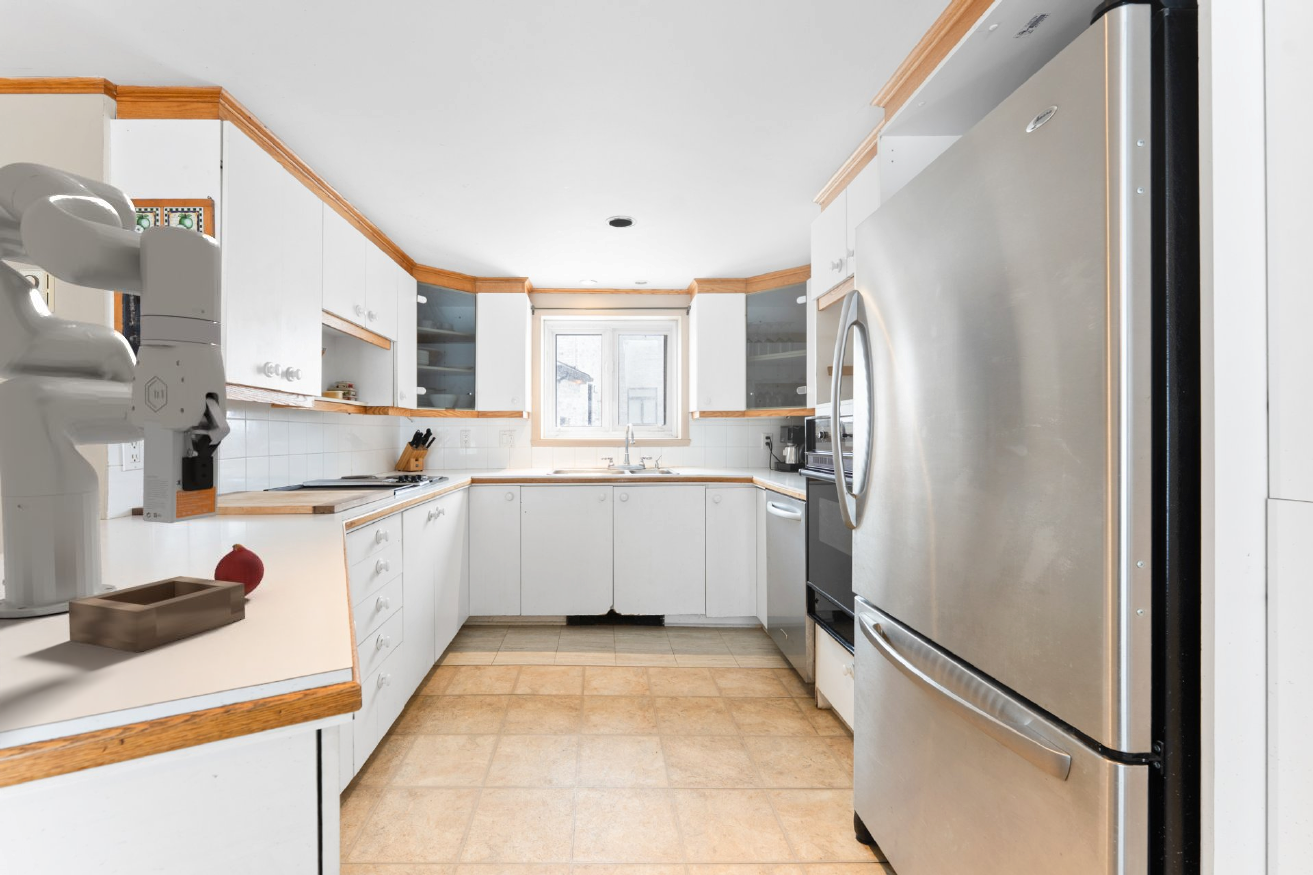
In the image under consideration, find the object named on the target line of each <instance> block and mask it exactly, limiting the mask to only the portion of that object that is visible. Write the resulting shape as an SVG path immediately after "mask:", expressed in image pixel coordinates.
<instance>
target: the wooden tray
mask: <svg viewBox="0 0 1313 875" xmlns="http://www.w3.org/2000/svg"><path fill="white" fill-rule="evenodd" d="M245 600H246V596H245V593H244V583H236V582H227V581H218V580H215V579H209V578H199V577H189V576H181V575H179V576H175V577H170V578H165V579H162V580H157V581H154V582H153V581H152V582H149V583H145V584H141V585H140V584H139V585H134V586H132V587H127V588H123V589H118V590H117V591H113V592H109V593H105V594H100V595H96V596H91V597H87V598H83V599H78V600H74V601H70V602H69V611H68V621H69V622H68V623H69V627H68V628H69V641H72V642H73V641H74V642H79V643H83V644H84V643H85V644H90V645H94V646H101V647H105V648H111V649H112V648H113V649H118V650H123V651H129V652H135V653H141V652H144V651H148V650H150V649H153V648H156V647H159V646H160V647H161V646H163V645H166V644H170V643H173V642H175V641H176V642H177V641H178V639H179V640H182V639H185V638H188V637H190V636H194V635H197V634H201V633H204V632H207V631H209V630H213V629H215V628H216V629H217V628H219V627H222V626H225V625H228V624H231V623H234V621H235V622H238V621H240V619H241V620H243V619H246V602H245ZM172 641H173V642H172Z"/></svg>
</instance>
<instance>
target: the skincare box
mask: <svg viewBox="0 0 1313 875" xmlns="http://www.w3.org/2000/svg"><path fill="white" fill-rule="evenodd" d="M192 428H193V430H200V429H203V425H197V426H192ZM195 437H196V443H197V441H198V440H199V439H200V437H201V436H195ZM182 457H188V456H187V454H186V448H185V443H184V431H173V430H169V429H164V428H162V426H161V423H160V421H157V420H144V440H143V481H142V482H143V493H142V494H143V496H142V498H143V500H142V501H143V502H142V506H143V507H142V512H143V513H142V520H143V521H144V522H149V523H150V522H151V523H162V524H163V523H164V524H175V523H179V522H187V521H192V520H198V519H206V518H210V517H211V518H213V517H216V516H218V496H219V495H218V494H219V493H218V492H219V491H218V489H219V446H218V447H217V454H216V456H213V488H212V489H206V490H197V491H184V490H183V489H182Z"/></svg>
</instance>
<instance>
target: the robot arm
mask: <svg viewBox="0 0 1313 875" xmlns="http://www.w3.org/2000/svg"><path fill="white" fill-rule="evenodd" d="M136 211H137V210H136V208H135V206H134V203H133V202H132V200H131V199H130V198H129V196H128V195H126V193H125V192H124V191H122V190H120V189H119V188H117V187H116V186H113V185H111V184H109V183H104V182H102V181H98V180H94V179H91V178H88V177H85V176H81V175H78V174H74V173H71V172H68V171H65V170H61V169H59V168H54V167H52V166H48V165H44V164H41V163H40V164H39V163H34V162H15V163H14V162H13V163H9V164H5V165H4V166H2V167H0V378H2V379H4V381H2V382H1V383H0V491H1V492H0V494H1V495H0V496H1V520H2V521H1V522H2V523H1V526H2V548H3V549H2V550H3V552H2V553H3V579H2V585H3V586H4V598H2V599H0V619H3V618H4V619H9V618H12V619H13V618H15V619H16V618H31V617H38V616H39V617H40V616H46V615H52V614H57V613H64V612H69V602H70V601H74V600H78V599H83V598H87V597H91V596H96V595H100V594H105V593H109V592H113V591H118V590H117V589H118V587H117V586H115V585H113V584H108V583H107V584H106V583H103V576H102V574H103V573H102V569H103V568H102V544H101V542H102V539H101V513H100V512H101V510H100V509H101V508H100V506H101V504H100V484H99V483H100V481H99V476H98V473H97V471H96V469H95V467H94V466H93V464H92V463H90V462H89V461H88V459H86V458H85V457H84V455H82V454H81V453H80V452H79V450H77V448H76V447H77V446H86V445H89V446H91V445H119V444H131V443H137V442H141V441H144V420H157V421H160V423H161V426H162V428H164V429H169V430H173V431H184V443H185V448H186V454H187V456H188V457H182V489H183V490H184V491H197V490H206V489H212V488H213V456H216V454H217V447H218V448H219V446H220V445H221V443H222V441H223V440H224V439H225V438H226V437H227V436H228V435H229V434H230V433H231V427H230V425H229V423H228V421H227V412H228V410H227V408H228V403H227V402H228V401H227V396H228V395H227V384H226V373H225V367H224V359H223V354H222V320H221V319H222V296H221V295H222V290H221V289H222V251H221V250H222V249H221V247H220V244H219V243H218V241H217V240H216V238H213V237H212V236H210V235H208V234H206V233H204V232H201V231H197V230H195V229H189V228H184V227H179V226H173V225H172V226H171V225H153V226H149V227H147V228H144V230H143V231H142V232H137V231H136V228H137V223H138V217H137V216H138V215H137V214H138V213H137V212H136ZM3 260H4V261H3ZM5 261H7V262H15V263H19V264H26V265H30V266H36V267H40V268H41V269H42V270H43V271H45V272H46V273H47V274H49V275H51V276H52V277H54V278H56V279H57V280H58V279H59V280H60V281H63V282H65V283H68V284H71V285H75V286H77V287H78V286H80V287H86V288H90V289H95V290H96V289H97V290H102V291H103V290H104V291H110V292H115V293H121V294H128V295H134V296H137V297H140V298H139V301H140V302H139V303H140V304H139V305H140V306H139V309H140V317H139V318H140V319H139V320H140V324H139V325H140V327H139V328H140V339H139V340H140V345H139V346H138V350H137V353H136V354H135V352H134V350H133V348H132V345H131V344H130V342H129V341H128V339H126V338H125V336H124V335H123V334H122V333H120V332H119V331H118V330H116V329H114V328H112V327H110V326H107V325H103V324H99V323H92V322H85V321H79V320H68V319H64V318H61V317H57V316H56V315H54V314H53V313H52V311H51V310H50V308H49V305H48V303H47V300H46V298H45V296H44V294H43V293H42V291H40V289H39V288H38V287H37V286H36V285H35V284H34V283H32V281H31V280H30V279H28V278H27V277H26V276H25V275H24V274H22V273H20V272H19V271H17V270H16V269H14V268H13V267H12V266H10V265H9V264H7V263H6V262H5ZM197 425H203V429H200V430H193V428H192V426H197ZM195 436H201V437H200V439H199V440H198V441H197V443H196V437H195Z"/></svg>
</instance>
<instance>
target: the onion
mask: <svg viewBox="0 0 1313 875" xmlns="http://www.w3.org/2000/svg"><path fill="white" fill-rule="evenodd" d="M231 548H232V550H231V551H230V552H228V553H227V554H225V555H224V556H223V557H222V558H221V559H220V560H219V561H218V563H217V565H216V566H215V569H214V577H213V580H218V581H227V582H236V583H244V593H245V597H247V596H248V595H250V594H251V593H252V592H254V591H255V589H257V587H258V586H259V585H260V584H261V581H262V580H263V579H264V574H265V566H264V563H263V561H262V559H261V558H260V557H259V556H258V555H257V554H256V553H255V552H254V551H251V550H250V549H248V548H246V547H245V546H243V545H242V544H241V543H234V544H233V545H232V547H231Z"/></svg>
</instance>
